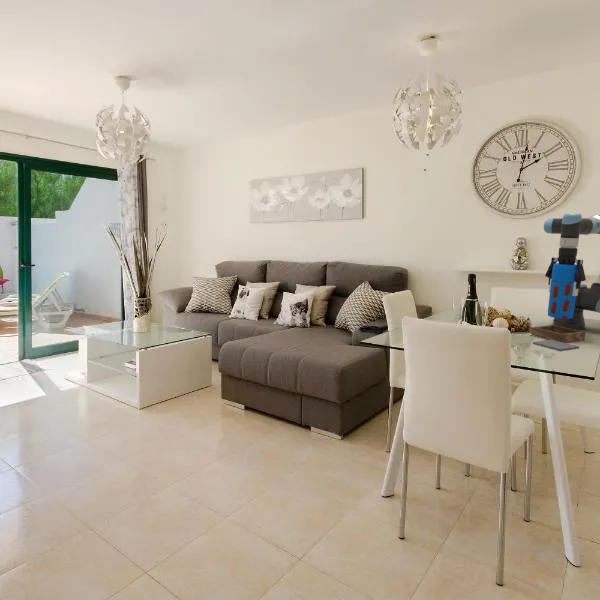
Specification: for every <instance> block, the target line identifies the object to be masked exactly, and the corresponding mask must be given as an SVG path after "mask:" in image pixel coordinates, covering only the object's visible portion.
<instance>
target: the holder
mask: <svg viewBox="0 0 600 600" xmlns="http://www.w3.org/2000/svg"><path fill="white" fill-rule="evenodd" d="M530 334H532V335H535V336H538V337H537V338H539V337H541V338H540V339H543V338H544V340H547V339H548V340H555V341H559V342H563V343H567V342H569V343H574V342H575V341H576V342H581V340H582V341H585V340H586V331H582V330H578V329H570V328H565V327H561V326H556V325H553V324H548V325H547V324H546V325H538V326H532V327H530ZM530 334H529V335H530ZM532 335H531V336H532ZM535 336H534V337H535ZM576 342H575V343H576ZM567 344H568V343H567Z"/></svg>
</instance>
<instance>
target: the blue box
mask: <svg viewBox="0 0 600 600" xmlns="http://www.w3.org/2000/svg"><path fill="white" fill-rule="evenodd" d="M558 263H559V262H557V263H555V264H554V265H553V270H552V279H551V288H550V292H549V295H548V297H549V298H548V306H547V316H548V317H551V318H553V319H554V318H561V319H572V318H573V313H574V307H575V299H576V296H572V294H573V286H574V282H575V281H576V280H575V278H574V276H575V273H578V268H577V264H576V263H575V265H565V264H558ZM578 274H579V273H578Z"/></svg>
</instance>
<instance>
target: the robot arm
mask: <svg viewBox="0 0 600 600" xmlns="http://www.w3.org/2000/svg"><path fill="white" fill-rule="evenodd" d="M543 230H544V232H545V233H546V234H551V235H553V234H556V235H557V234H558V235H560V238H559V245H558V246H559V248H558V256H557V257H555V256H553V257H551V261H550V264H549V266H548V268H547V270H546V273H545V274H544V275H545V277H547V278H548V285H549V287H548V293H550V288H551V279H552V270H553V265H554V264H555V263H558V264H565V265H575V264H576V265H577V268H578V273H579V274H578V273H575V276H574V278H575V280H576V281H575V282H574V286H573V294H572V296H576V299H575V307H574V313H573V318H572V319H561V318H554V317H553V321H552V325H556V326H561V327H565V328H570V329H574V330H579V331H581V330H586V321H585V317H584V311H589V312H594V313H598V314H600V273H599V275H598V277H597V278H596V281H594V282H591V285H590V287H588V285H587V284H584V283H583V284H581V283H582V282H586V279H587V278H586V274H585V270H584V265H583V264H584V260H583V259H577V256H578V247H579V241H580V235H584V236H588V235H594V234H595V235H596V234H597V235H600V214H598V215H592V216H589V217H582V214H581V213H565V214H563V216H562V218H561V217H560V218H558V217H556V218H554V217H553V218H547V219H546V220H545V221H544V224H543Z"/></svg>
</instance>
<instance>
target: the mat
mask: <svg viewBox="0 0 600 600" xmlns="http://www.w3.org/2000/svg"><path fill="white" fill-rule="evenodd" d="M532 344H533V345H536V344H537V345H536V346H539V345H540V347H543V346H544V347H543V348H547V347H548V348H547V349H550V348H551V349H550V350H554V349H555V351H557V352H564V350H565V351H569V350H570V351H571V350H576V349H580V346H578V345H575V344H571V343H563V342H559V341H555V340H547V339H544V340H539V341H538V340H537V341H533V342H532Z"/></svg>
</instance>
